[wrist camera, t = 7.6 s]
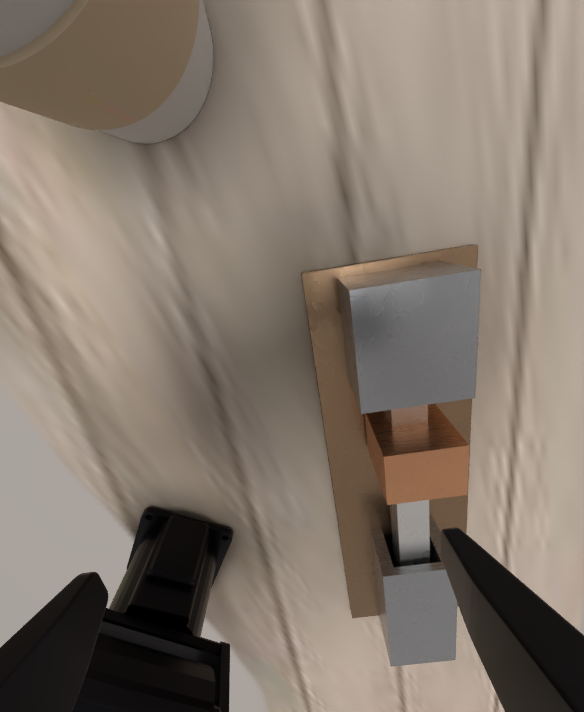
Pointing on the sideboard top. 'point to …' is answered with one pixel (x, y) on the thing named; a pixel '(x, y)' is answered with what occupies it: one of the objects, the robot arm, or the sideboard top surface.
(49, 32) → the coffee cup
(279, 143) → the sideboard top surface
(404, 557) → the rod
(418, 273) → the tube base
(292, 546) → the sideboard top surface
